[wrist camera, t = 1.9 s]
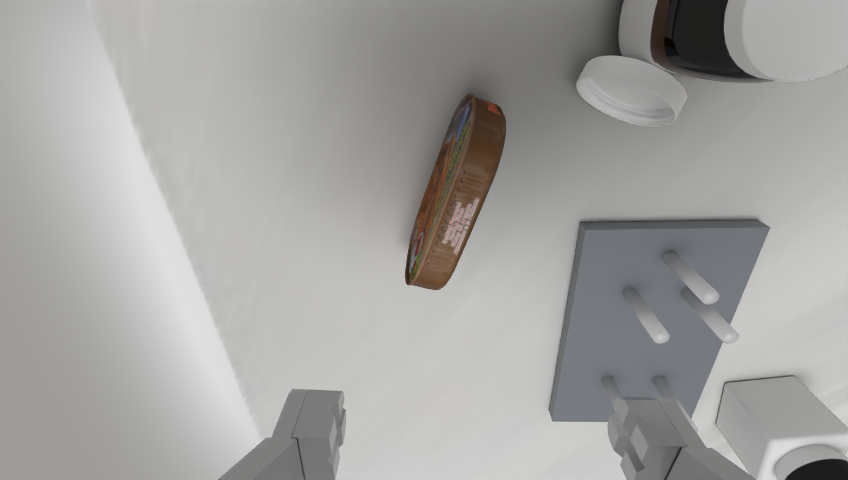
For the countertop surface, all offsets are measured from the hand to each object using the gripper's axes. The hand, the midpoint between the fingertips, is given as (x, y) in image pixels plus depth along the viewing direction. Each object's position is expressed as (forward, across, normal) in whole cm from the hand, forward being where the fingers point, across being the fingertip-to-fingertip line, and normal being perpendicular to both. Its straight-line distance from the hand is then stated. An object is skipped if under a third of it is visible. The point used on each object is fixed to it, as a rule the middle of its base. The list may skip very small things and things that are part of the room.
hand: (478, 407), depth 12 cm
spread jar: (+24, -15, -10) cm, 29 cm away
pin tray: (+24, -20, +16) cm, 35 cm away
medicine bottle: (+24, -35, +26) cm, 50 cm away
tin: (+24, 0, +1) cm, 24 cm away
